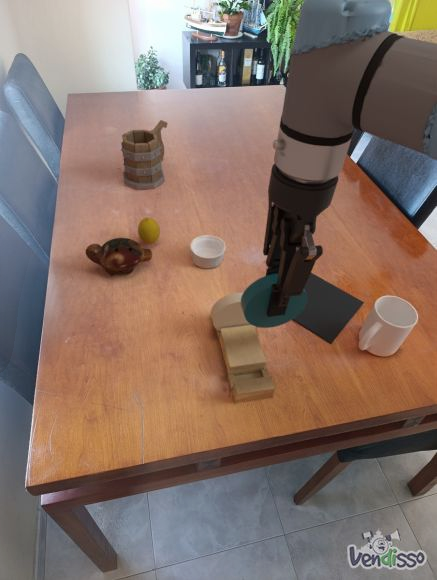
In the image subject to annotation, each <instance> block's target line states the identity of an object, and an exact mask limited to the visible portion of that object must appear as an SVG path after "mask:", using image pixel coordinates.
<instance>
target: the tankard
mask: <svg viewBox="0 0 437 580" xmlns="http://www.w3.org/2000/svg"><path fill="white" fill-rule="evenodd" d="M167 127H168V122H167V121H164V120H162V119H160V120H159V121H158V123H157V125H155V126H154V128H153V129H151V130H148V129H132V130H129V131H126V132H125V133H123V134H122V135H121V138H122V141H121V143H120V144H121V149H120V151H121V153H122V157H123V159H122V160H123V163H122V165H123V167H124V171H122V175H123V184H124V185H125V186H127V187H130V188H132V189H134V190H137V191H143V190H154V189H156V188H158V187H159V186H161V185H163V183H165V182H166V180H165V179H166V178H165V174H164V171H163V167H162V163H163V160H164V156H165V145H164V142H163V139H162V130H163V128H165V129H166V128H167Z"/></svg>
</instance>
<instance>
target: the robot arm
mask: <svg viewBox="0 0 437 580" xmlns="http://www.w3.org/2000/svg"><path fill="white" fill-rule="evenodd" d="M392 9H393V7H392V3H391V2H390V1H389V0H304V1H303V3H302V5H301V7H300V11H299V16H298V20H297V25H296V29H295V33H294V38H293V42H292V47H291V48H290V51H289V56H290V59H289V67H288V73H287V79H286V86H285V87H286V88H285V92H284V97H283V104H282V112H281V117H280V121H279V127H278V133H277V139H274V140H273V141H272V149H274V150H275V151H274V155H273V162H274V163H273V164H272V166H271V170H270V177H269V182H268V189H267V193H268V194H267V197H268V209H267V216H266V225H265V233H264V240H263V248H262V254H263V256H266V260H265V265H266V267H267V268H266V271H265V276H267V275H271V274H276V273H278V279H277V283H276V284H273V285H271V287H272V292H271V297H270V301H269V305H268V310H267V316H268V317H272V316H279V315H285V312H286V308H287V305H288V303H289V299H290V297H291V296H299V295H301V294H302V292H303V290H304V287H305V285H306V283H307V280H308V278H309V276H310V273H312V271H313V269H314V267H315V264H316V262H317V260H319V259H320V258H321V256H322V255H323V252H324V248H323V246H322V245H321V244H320V245H319V244H318V245H316V243H315V239H314V236H313V235H314V234H315V232H316V229H317V218H318V216H319V215H320V214H321V213H323V212H324V211H325V210H327V209H328V208H329V207H330V206H331V204H332V202H333V198H334V195H335V191H336V189H337V186H338V182H339V175H340V174H341V173H342V171H343V168H344V165H345V161H346V159H347V154H348V152H349V149H350V145H351V142H352V138H353V135H354V132H355V130H358V131H360V132H363V133H367V134H369V135H372V136H375V137H377V138H381V139H383V140H386V141H389V142H390V143H394V144H396V145H399V146H401V147H405V148H407V149H410V150H411V151H415V152H418V153H420V154H423V155H425V156H427V157H428V158H429V159H432V160H435V161H437V43H436V42H432V41H426V40H421V39H415V38H410V37H407V36H404V35H399V34H397V33H395V32H393V31H390V30H389V29H390V25H391V23H390V19H391V15H392Z"/></svg>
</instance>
